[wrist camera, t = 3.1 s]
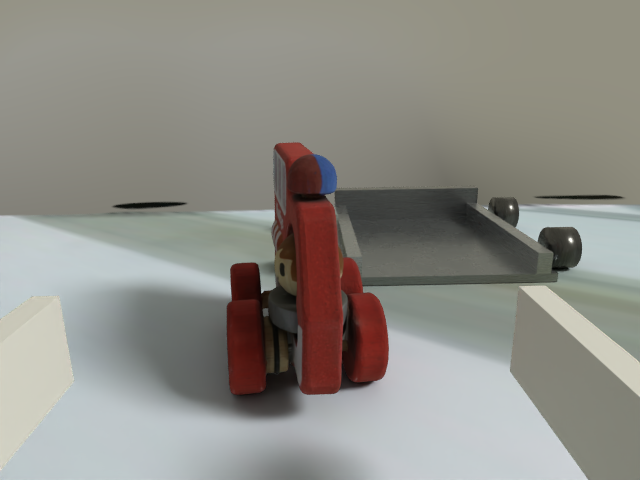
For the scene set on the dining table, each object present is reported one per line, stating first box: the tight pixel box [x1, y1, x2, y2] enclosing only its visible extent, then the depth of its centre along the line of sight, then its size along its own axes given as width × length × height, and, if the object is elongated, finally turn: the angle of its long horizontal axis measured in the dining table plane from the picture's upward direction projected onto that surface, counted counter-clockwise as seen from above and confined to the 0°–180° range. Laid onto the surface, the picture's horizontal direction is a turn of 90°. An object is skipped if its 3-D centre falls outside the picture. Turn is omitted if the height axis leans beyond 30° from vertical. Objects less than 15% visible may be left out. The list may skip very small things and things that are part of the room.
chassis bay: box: [335, 186, 582, 286], centre depth 42 cm, size 20×18×4 cm
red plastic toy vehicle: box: [227, 143, 389, 395], centre depth 24 cm, size 7×12×10 cm, turn 9°
